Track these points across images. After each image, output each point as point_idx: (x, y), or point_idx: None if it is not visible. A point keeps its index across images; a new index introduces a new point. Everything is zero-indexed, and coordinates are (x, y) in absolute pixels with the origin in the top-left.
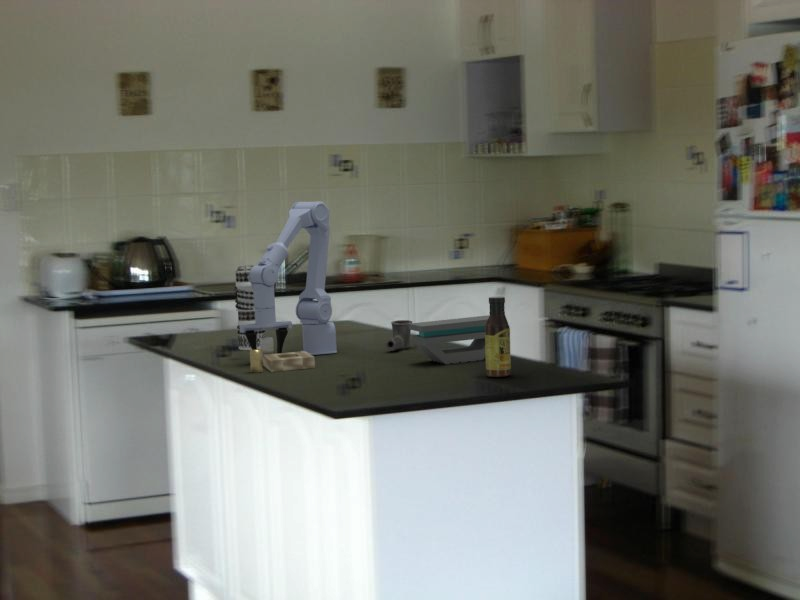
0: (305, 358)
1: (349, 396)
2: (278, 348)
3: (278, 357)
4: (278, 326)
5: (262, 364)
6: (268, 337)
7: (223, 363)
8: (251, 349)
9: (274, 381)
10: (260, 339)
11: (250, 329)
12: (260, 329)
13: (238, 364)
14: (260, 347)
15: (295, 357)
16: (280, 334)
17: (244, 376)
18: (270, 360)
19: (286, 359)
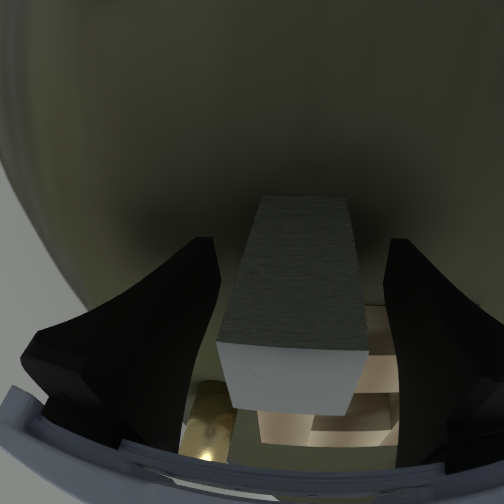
0: (388, 442)
1: (324, 498)
2: (397, 304)
3: (307, 423)
4: (436, 497)
5: (235, 419)
6: (327, 363)
7: (43, 119)
8: (182, 454)
9: (254, 458)
10: (224, 354)
11: (96, 456)
12: (203, 480)
13: (119, 193)
14: (240, 270)
15: (364, 438)
16: (403, 452)
17: (184, 411)
18: (262, 441)
19: (320, 446)
